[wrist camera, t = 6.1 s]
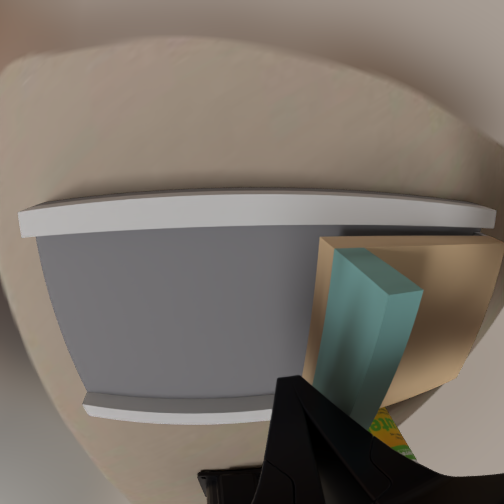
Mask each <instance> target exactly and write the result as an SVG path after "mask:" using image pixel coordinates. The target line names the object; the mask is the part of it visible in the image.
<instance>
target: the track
mask: <svg viewBox="0 0 504 504" xmlns="http://www.w3.org/2000/svg"><path fill="white" fill-rule="evenodd" d="M496 212H497V210H494V209H491V208H488V207H485V206H482V205H478V204H475V203H472V202H465V201H458V200H450V199H443V198H434V197H426V196H417V195H407V194H396V193H384V192H371V191H356V190H338V189H315V188H202V189H178V190H160V191H145V192H132V193H120V194H109V195H99V196H90V197H81V198H73V199H65V200H58V201H50V202H44V203H41V204H38V205H35V206H33V207H30V208H27V209H25V210H22V211H20V212H18V218H19V225H20V231H21V237H22V238H24V237H35V236H36V241H37V246H38V251H39V256H40V261H41V265H42V270H43V274H44V278H45V282H46V285H47V289H48V293H49V296H50V299H51V303H52V306H53V309H54V312H55V315H56V318H57V321H58V324H59V327H60V330H61V332H62V335H63V338H64V340H65V343H66V346H67V348H68V351H69V353H70V355H71V358H72V360H73V362H74V365H75V367H76V369H77V371H78V374H79V376H80V378H81V380H82V382H83V384H84V386H85V388H86V390H87V393H86V396H85V398H84V401H83V403H82V405H83V406H84V408H85V410H86V412H87V413H88V415H89V416H95V417H101V418H108V419H115V420H123V421H133V422H144V423H158V424H186V425H203V424H231V423H246V422H257V421H267V420H271V414H272V408H273V401H274V395H275V388H276V381H277V378H278V377H286V376H294V375H300V376H302V374H303V368H304V362H305V356H306V349H307V343H308V336H309V329H310V322H311V314H312V307H313V298H314V290H315V281H316V271H317V261H318V251H319V239H320V237H333V236H487V235H485V234H483V233H480V231H481V228H494V225H495V219H496Z"/></svg>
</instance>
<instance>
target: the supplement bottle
mask: <svg viewBox="0 0 504 504" xmlns="http://www.w3.org/2000/svg"><path fill="white" fill-rule="evenodd" d="M368 431H369V432H370V433H372V434H373V436H376V437H377V438H378V439H380V440H381V441H382V442H384V443H385V444H387V445H388V446H390V447H391V448H392V449H394V450H395V451H397V452H399V453H401V454H402V455H404V456H406V457H407V458H409V459H411V460H413V461H415V462H417V460H416V458H415V456H414V454H413V453H412V451H411V450H410V448H409V446H408V445H407V443H406V441H405V440H404V438H403V436H402V435H401V433H400V431H399V429H398V428H397V426H396V425H395V423H394V421H393V420H392V418H391V416H390V415H389V413H388V411H387V410H386V408H385V407H382V408H379V410H378V412H377V414H376V416H375V418H374V420H373V422H372V424H371V426H370V428H369V429H368ZM417 463H418V462H417Z"/></svg>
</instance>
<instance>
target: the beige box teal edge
mask: <svg viewBox="0 0 504 504" xmlns="http://www.w3.org/2000/svg"><path fill="white" fill-rule="evenodd" d="M503 254H504V242H502V241H500V240H498V239H496V238H493V237H491V236H333V237H320V239H319V251H318V261H317V271H316V281H315V290H314V298H313V307H312V314H311V322H310V329H309V336H308V343H307V349H306V356H305V362H304V368H303V374H302V377H303V378H304V379H305V380H306V381H307V382H309V383H310V384H311V385H312V386H313V387H315V388H316V389H317V390H318V391H319V392H320V393H322V394H323V395H324V396H325V397H326V398H328V399H329V400H330V401H331V402H332V403H334V404H335V405H336V406H337V407H339V408H340V409H341V410H342V411H344V412H345V413H346V414H347V415H349V416H350V417H351V418H352V419H354V420H355V421H356V422H357V423H359V424H360V425H361V426H362V427H364V428H365V429H366V430H368V429H369V428H370V426H371V424H372V422H373V420H374V418H375V416H376V414H377V412H378V410H379V408H382V407H385V406H388V405H391V404H394V403H397V402H400V401H403V400H405V399H408V398H411V397H413V396H416V395H419V394H421V393H424V392H426V391H428V390H431V389H433V388H435V387H438V386H440V385H442V384H444V383H447V382H449V381H451V380H453V379H455V378H456V377H457V376H458V374H459V372H460V370H461V368H462V366H463V364H464V362H465V360H466V358H467V356H468V354H469V352H470V350H471V348H472V345H473V343H474V341H475V339H476V336H477V334H478V332H479V329H480V327H481V324H482V322H483V319H484V317H485V314H486V311H487V308H488V306H489V303H490V300H491V297H492V294H493V291H494V287H495V284H496V281H497V277H498V274H499V270H500V266H501V263H502V258H503Z"/></svg>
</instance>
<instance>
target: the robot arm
mask: <svg viewBox="0 0 504 504" xmlns="http://www.w3.org/2000/svg"><path fill="white" fill-rule="evenodd" d="M197 478H198V480H199V483H200V485H201V487H202V490H203V492H204V494H205V496H206V497H207V504H504V473H502V474H494V475H485V476H484V475H483V476H466V477H453V476H447V475H443V474H439V473H437V472H435V471H433V470H431V469H429V468H427V467H425V466H423V465H421V464H419V463H417V462H415V461H413V460H411V459H409V458H407V457H406V456H404V455H402V454H401V453H399V452H397V451H395V450H394V449H392V448H391V447H390V446H388V445H387V444H385V443H384V442H382V441H381V440H380V439H378V438H377V437H376V436H373V434H372V433H370V432H369V431H368V430H366V429H365V428H364V427H362V426H361V425H360V424H359V423H357V422H356V421H355V420H354V419H352V418H351V417H350V416H349V415H347V414H346V413H345V412H344V411H342V410H341V409H340V408H339V407H337V406H336V405H335V404H334V403H332V402H331V401H330V400H329V399H328V398H326V397H325V396H324V395H323V394H322V393H320V392H319V391H318V390H317V389H316V388H315V387H313V386H312V385H311V384H310V383H309V382H307V381H306V380H305V379H304V378H303V377H302V376H300V375H294V376H286V377H278V378H277V381H276V388H275V395H274V401H273V408H272V414H271V420H270V426H269V432H268V438H267V444H266V450H265V456H264V461H263V466H262V469H253V470H241V471H223V472H199V473H198V474H197Z"/></svg>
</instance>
